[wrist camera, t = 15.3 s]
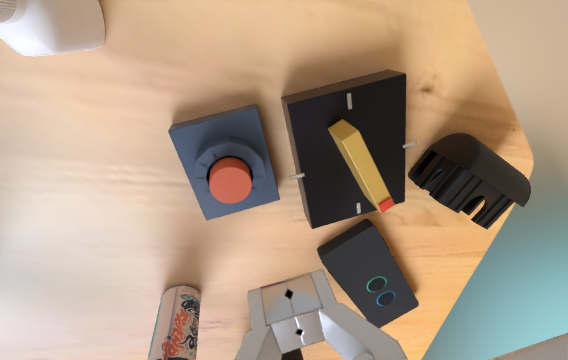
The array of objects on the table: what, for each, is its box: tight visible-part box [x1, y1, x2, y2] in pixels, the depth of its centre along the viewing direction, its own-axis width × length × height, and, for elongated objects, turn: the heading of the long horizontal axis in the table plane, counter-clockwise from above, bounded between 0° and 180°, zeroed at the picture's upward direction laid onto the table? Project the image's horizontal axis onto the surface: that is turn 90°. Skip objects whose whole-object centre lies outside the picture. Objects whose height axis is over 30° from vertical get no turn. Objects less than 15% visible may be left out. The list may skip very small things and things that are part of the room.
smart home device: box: [317, 219, 419, 328], centre depth 40 cm, size 8×2×20 cm
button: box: [209, 158, 252, 203], centre depth 25 cm, size 4×4×2 cm
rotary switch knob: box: [328, 119, 394, 213], centre depth 26 cm, size 9×2×4 cm, turn 31°
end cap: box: [408, 133, 531, 229], centre depth 32 cm, size 10×7×7 cm
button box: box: [168, 104, 280, 220], centre depth 27 cm, size 10×8×4 cm
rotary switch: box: [281, 70, 417, 229], centre depth 29 cm, size 14×13×3 cm
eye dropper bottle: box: [0, 0, 105, 57], centre depth 16 cm, size 4×6×12 cm
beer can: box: [148, 286, 201, 360], centre depth 31 cm, size 5×5×12 cm
